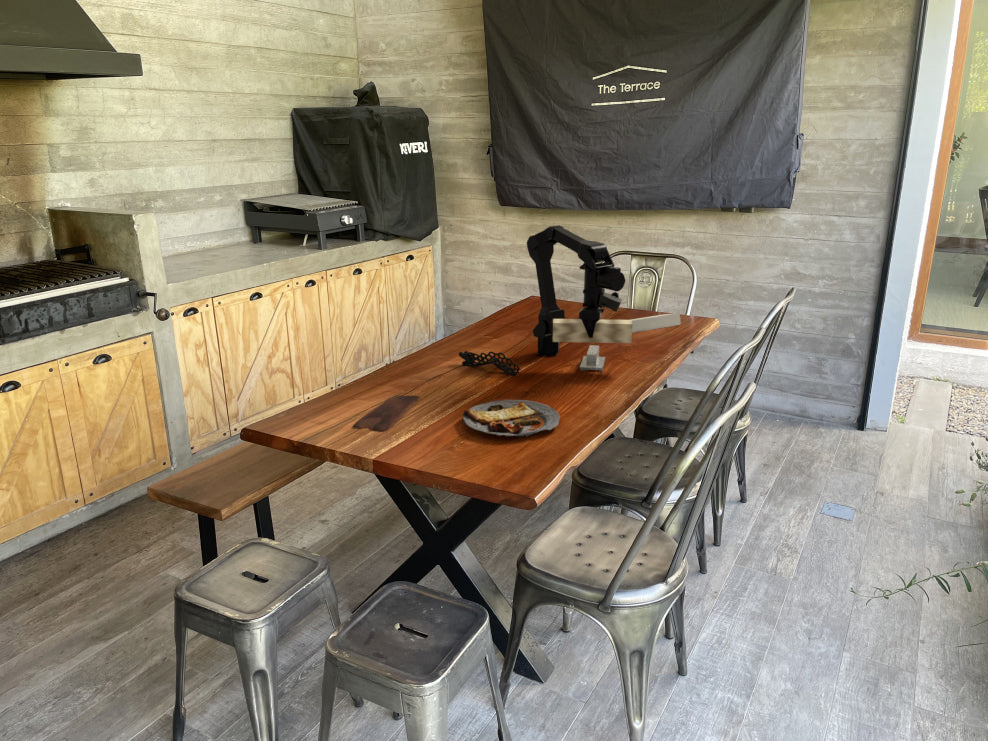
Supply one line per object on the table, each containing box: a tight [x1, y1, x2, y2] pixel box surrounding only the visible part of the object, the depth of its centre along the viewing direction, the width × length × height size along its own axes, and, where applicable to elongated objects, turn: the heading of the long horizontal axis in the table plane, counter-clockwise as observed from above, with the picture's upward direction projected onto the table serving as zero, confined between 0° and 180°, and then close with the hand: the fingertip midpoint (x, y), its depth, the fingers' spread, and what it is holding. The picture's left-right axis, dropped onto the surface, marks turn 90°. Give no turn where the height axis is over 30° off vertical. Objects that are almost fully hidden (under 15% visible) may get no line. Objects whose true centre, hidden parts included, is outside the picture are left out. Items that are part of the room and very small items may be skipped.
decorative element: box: [458, 350, 521, 377], centre depth 235 cm, size 22×5×6 cm, turn 54°
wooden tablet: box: [352, 395, 421, 432], centre depth 202 cm, size 26×2×10 cm
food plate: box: [461, 399, 561, 438], centre depth 193 cm, size 25×23×4 cm
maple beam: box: [553, 318, 633, 344], centre depth 231 cm, size 24×5×6 cm, turn 85°
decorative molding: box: [630, 312, 682, 334], centre depth 280 cm, size 34×5×10 cm
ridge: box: [579, 344, 606, 372], centre depth 237 cm, size 7×12×5 cm, turn 167°
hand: (591, 335), depth 232 cm, fingers closed on maple beam, 5 cm apart
